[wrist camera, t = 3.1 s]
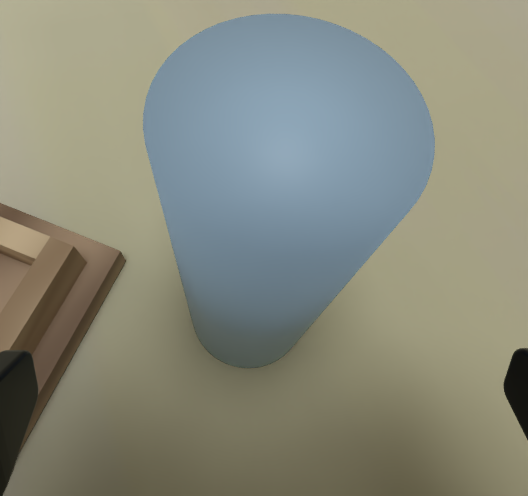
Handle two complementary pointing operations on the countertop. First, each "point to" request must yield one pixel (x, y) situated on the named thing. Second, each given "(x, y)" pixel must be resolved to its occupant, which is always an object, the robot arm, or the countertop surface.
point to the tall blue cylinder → (280, 172)
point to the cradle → (49, 293)
